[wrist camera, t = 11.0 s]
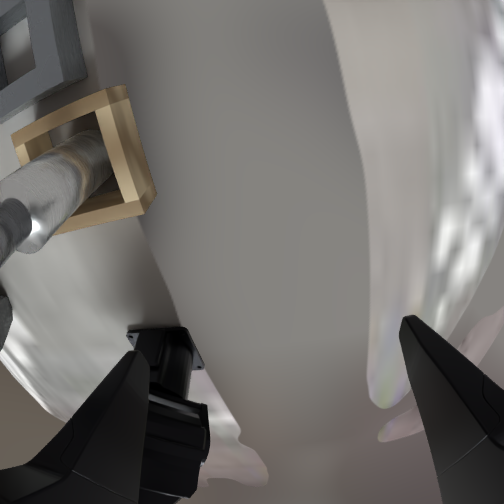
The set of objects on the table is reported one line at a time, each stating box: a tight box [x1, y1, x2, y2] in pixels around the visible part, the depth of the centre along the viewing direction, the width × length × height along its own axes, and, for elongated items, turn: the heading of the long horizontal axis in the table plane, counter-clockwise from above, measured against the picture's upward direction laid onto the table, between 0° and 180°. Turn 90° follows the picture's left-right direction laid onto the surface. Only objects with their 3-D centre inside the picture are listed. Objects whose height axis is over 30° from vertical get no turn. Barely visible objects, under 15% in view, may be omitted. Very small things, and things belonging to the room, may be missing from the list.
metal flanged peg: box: [0, 130, 114, 268], centre depth 13 cm, size 4×4×13 cm
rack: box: [11, 84, 157, 236], centre depth 18 cm, size 8×8×3 cm
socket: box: [0, 0, 88, 124], centre depth 12 cm, size 9×9×3 cm
